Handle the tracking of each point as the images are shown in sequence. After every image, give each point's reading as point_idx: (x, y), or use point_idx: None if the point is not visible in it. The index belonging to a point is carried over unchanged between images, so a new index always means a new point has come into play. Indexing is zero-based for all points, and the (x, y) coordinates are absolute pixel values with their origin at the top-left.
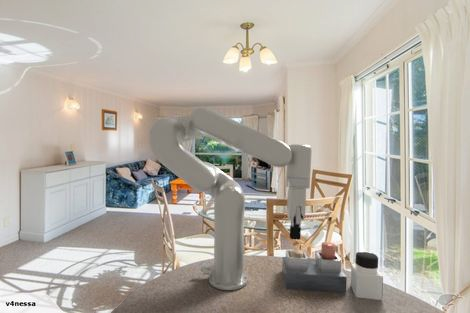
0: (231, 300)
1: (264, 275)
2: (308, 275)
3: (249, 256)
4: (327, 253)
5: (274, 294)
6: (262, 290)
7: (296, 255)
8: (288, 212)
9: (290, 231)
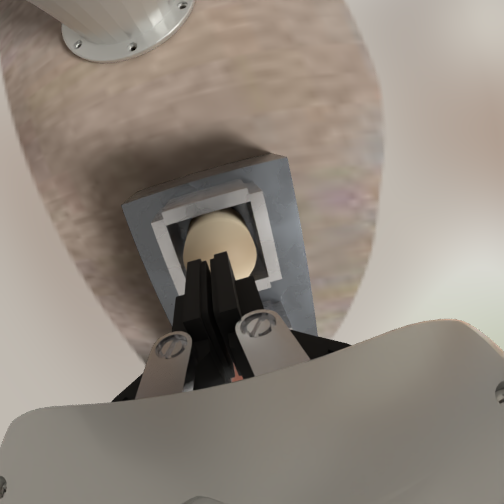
0: (31, 73)
1: (206, 95)
2: (154, 285)
3: (348, 21)
4: (232, 381)
5: (93, 167)
6: (100, 123)
7: (184, 260)
8: (42, 476)
9: (187, 290)
